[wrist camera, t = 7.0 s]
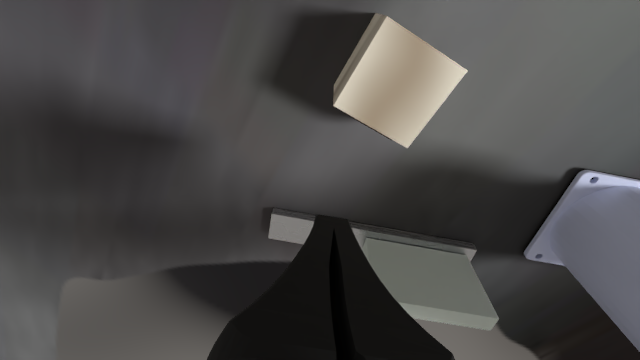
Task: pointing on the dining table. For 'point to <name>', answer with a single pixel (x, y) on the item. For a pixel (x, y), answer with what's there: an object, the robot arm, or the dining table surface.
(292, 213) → the rail
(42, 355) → the dining table surface
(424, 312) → the grey flat block
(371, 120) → the letter block
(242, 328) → the robot arm
